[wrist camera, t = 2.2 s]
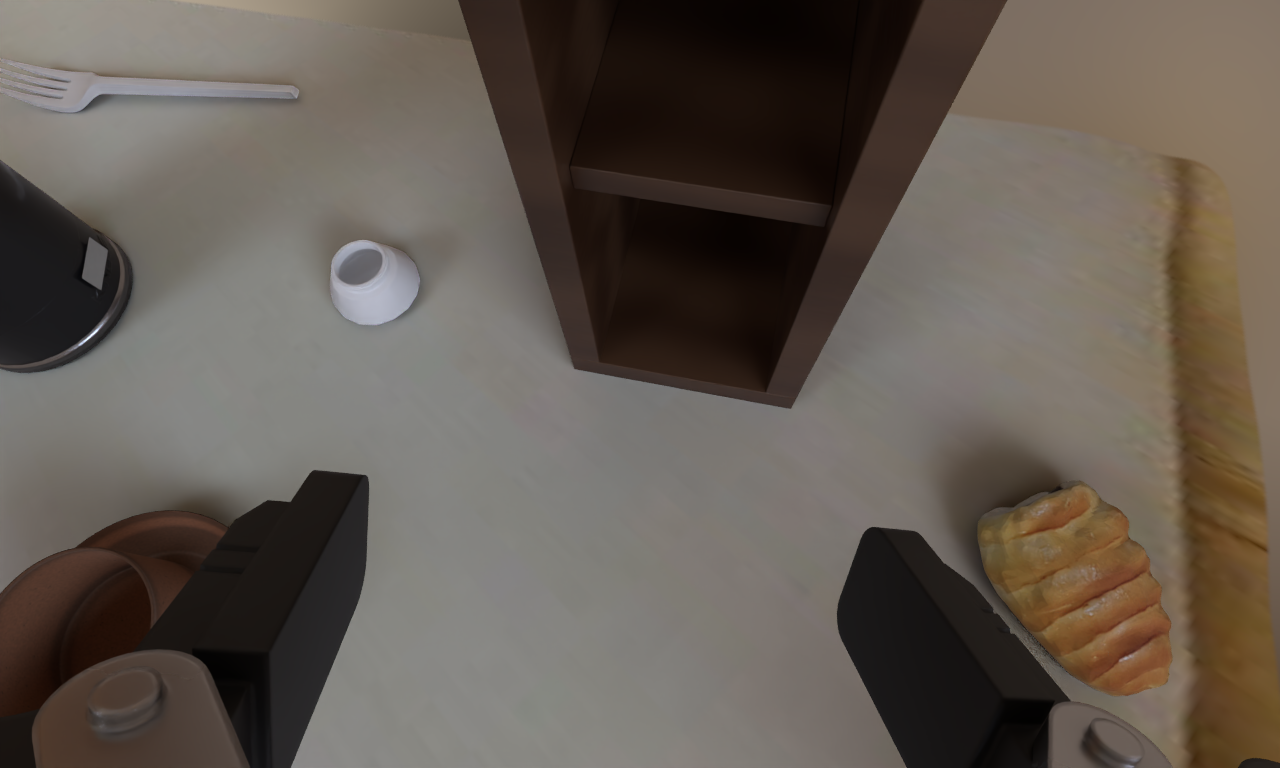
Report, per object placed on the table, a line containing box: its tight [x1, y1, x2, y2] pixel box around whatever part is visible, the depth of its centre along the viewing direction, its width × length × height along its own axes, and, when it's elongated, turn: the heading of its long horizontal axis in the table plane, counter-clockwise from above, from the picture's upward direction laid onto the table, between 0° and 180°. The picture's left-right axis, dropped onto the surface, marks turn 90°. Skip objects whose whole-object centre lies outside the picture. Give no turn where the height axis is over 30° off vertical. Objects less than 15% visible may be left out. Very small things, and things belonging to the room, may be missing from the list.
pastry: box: [977, 481, 1172, 696], centre depth 31 cm, size 9×7×4 cm
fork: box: [0, 58, 299, 113], centre depth 45 cm, size 3×20×2 cm, turn 87°
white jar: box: [330, 240, 420, 325], centre depth 39 cm, size 5×3×5 cm
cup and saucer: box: [0, 510, 229, 717], centre depth 30 cm, size 12×12×6 cm
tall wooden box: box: [458, 0, 1007, 409], centre depth 24 cm, size 16×12×33 cm
